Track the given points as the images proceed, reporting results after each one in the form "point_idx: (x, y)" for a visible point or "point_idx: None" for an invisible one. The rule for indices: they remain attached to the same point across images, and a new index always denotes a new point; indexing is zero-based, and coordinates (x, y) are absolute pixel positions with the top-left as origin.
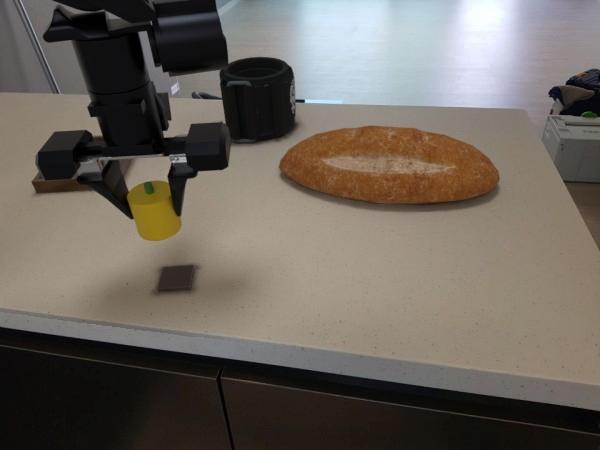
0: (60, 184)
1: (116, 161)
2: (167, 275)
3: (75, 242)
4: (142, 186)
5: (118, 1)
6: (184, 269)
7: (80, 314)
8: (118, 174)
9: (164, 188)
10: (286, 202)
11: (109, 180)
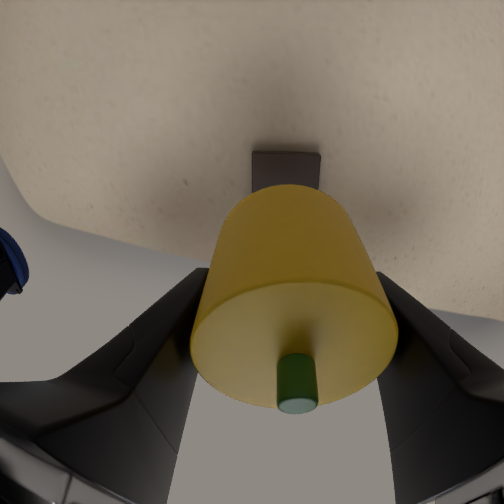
0: None
1: (96, 455)
2: (267, 181)
3: (52, 73)
4: (245, 322)
5: None
6: (302, 167)
7: (136, 244)
8: (140, 427)
9: (361, 344)
10: (490, 5)
11: (159, 484)
